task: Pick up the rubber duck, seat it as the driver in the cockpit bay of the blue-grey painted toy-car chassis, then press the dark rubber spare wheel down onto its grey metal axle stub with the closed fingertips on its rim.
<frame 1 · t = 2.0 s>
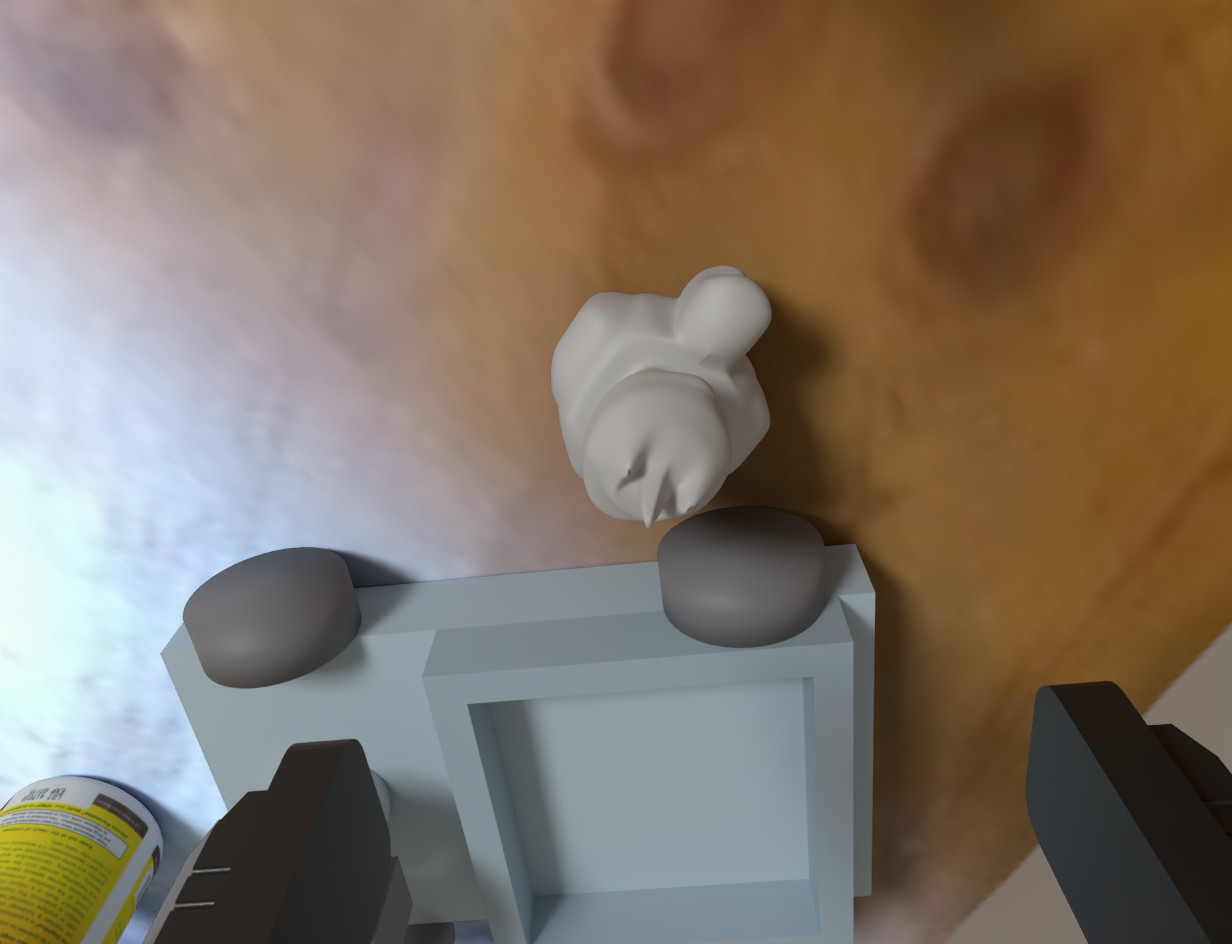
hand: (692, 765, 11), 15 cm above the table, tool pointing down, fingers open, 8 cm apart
supplement bottle: (95, 820, 33), on the table
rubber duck: (663, 348, 24), on the table
chassis: (548, 725, 30), on the table
spare wheel: (281, 935, 24), point 7 cm above the table, slide at 0.0 cm
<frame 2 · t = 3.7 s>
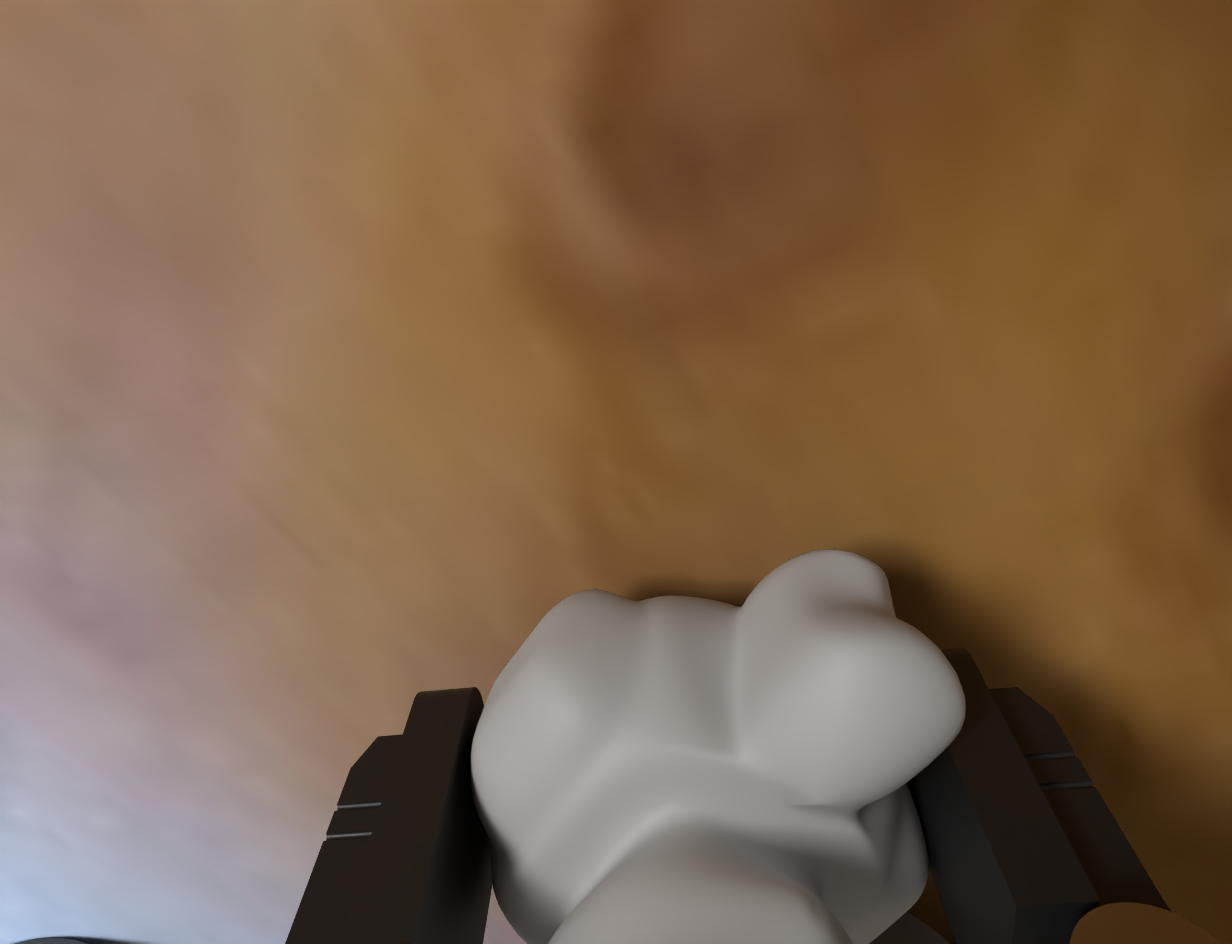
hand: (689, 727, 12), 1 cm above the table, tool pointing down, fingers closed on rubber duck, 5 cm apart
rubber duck: (699, 646, 13), on the table, touching gripper
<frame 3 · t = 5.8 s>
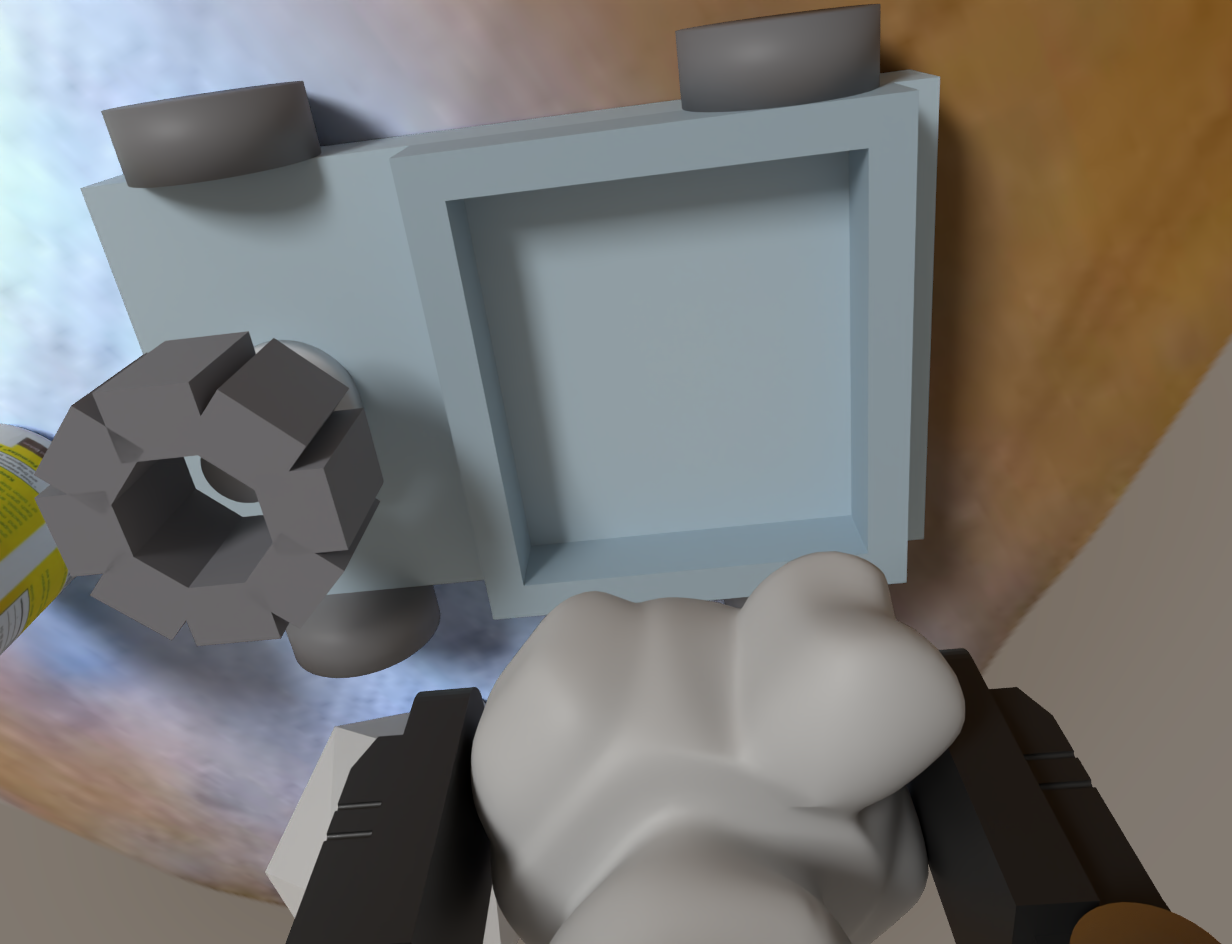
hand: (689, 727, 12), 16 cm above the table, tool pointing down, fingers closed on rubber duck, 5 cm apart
die: (449, 751, 33), on the table
supplement bottle: (27, 494, 29), on the table
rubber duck: (698, 648, 13), point 14 cm above the table, touching gripper
chassis: (546, 346, 26), on the table
spare wheel: (222, 489, 20), point 7 cm above the table, slide at 0.0 cm
when the fingers open (5 cm above the table, at t = 8.2 s): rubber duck drops 1 cm, resting on chassis.
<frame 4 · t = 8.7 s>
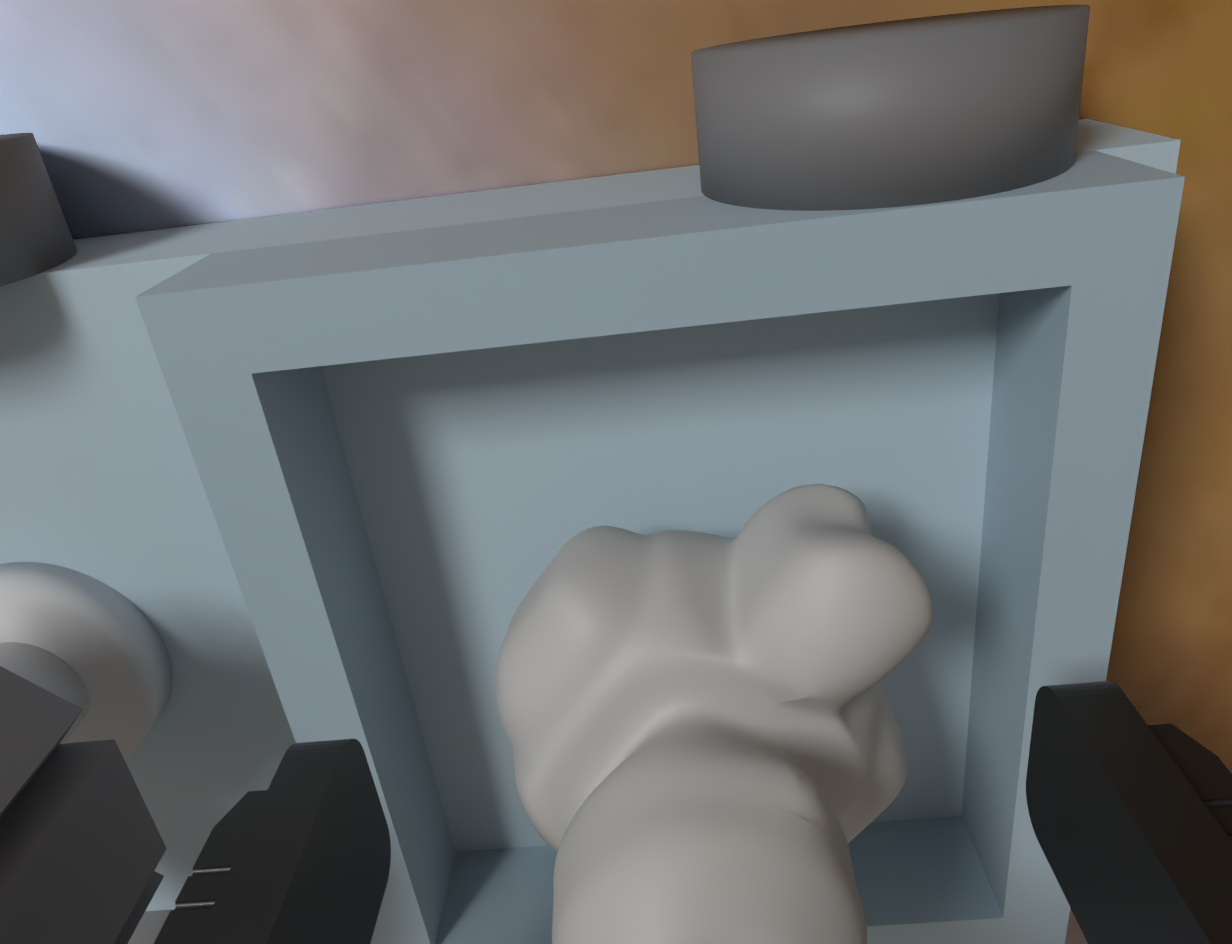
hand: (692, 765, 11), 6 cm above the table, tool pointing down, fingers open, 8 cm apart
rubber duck: (699, 586, 14), point 2 cm above the table, touching chassis
chassis: (479, 539, 16), on the table
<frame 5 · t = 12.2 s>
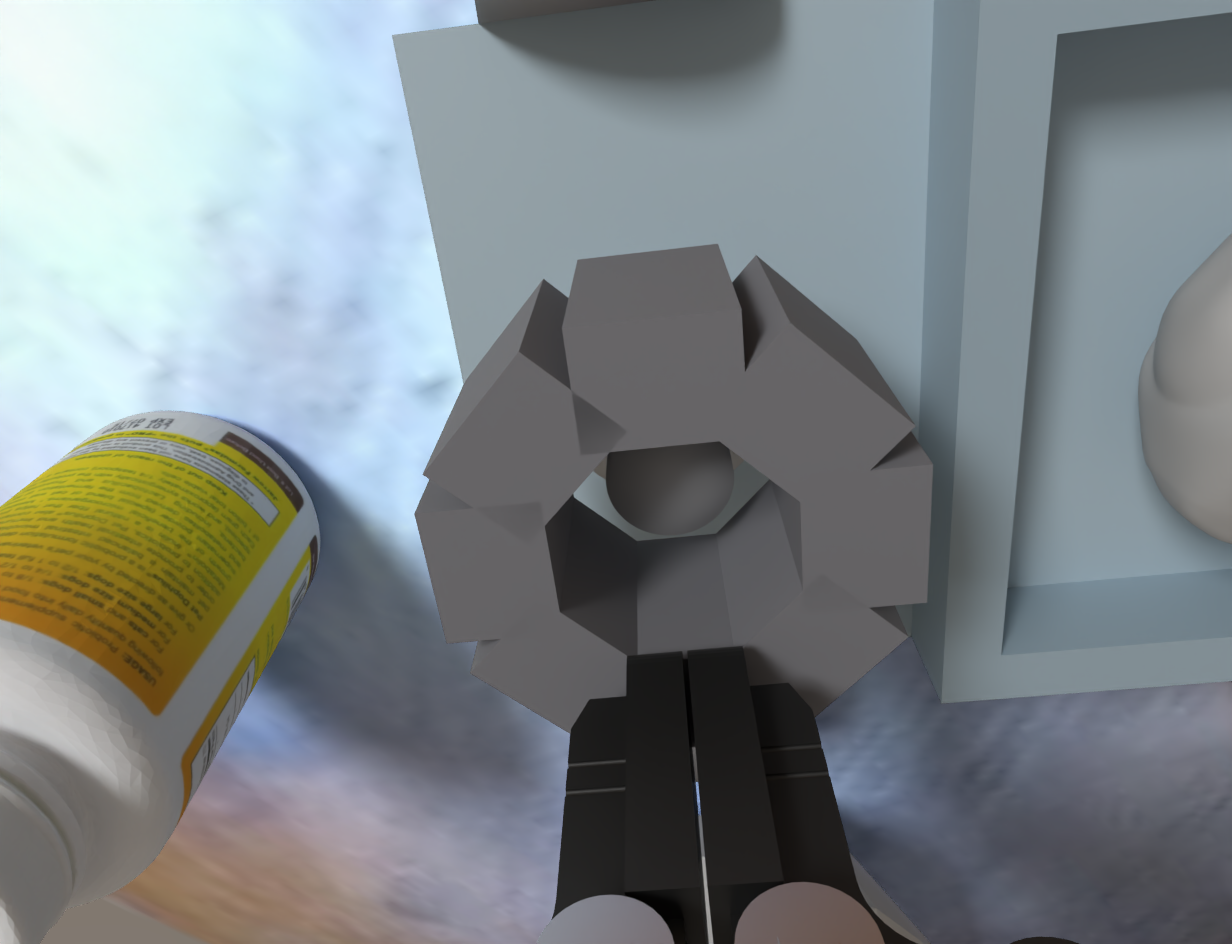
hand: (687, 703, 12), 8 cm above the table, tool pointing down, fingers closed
die: (728, 850, 25), on the table
supplement bottle: (208, 511, 21), on the table
chassis: (989, 303, 18), on the table
spare wheel: (671, 499, 12), point 7 cm above the table, slide at 0.4 cm, touching gripper
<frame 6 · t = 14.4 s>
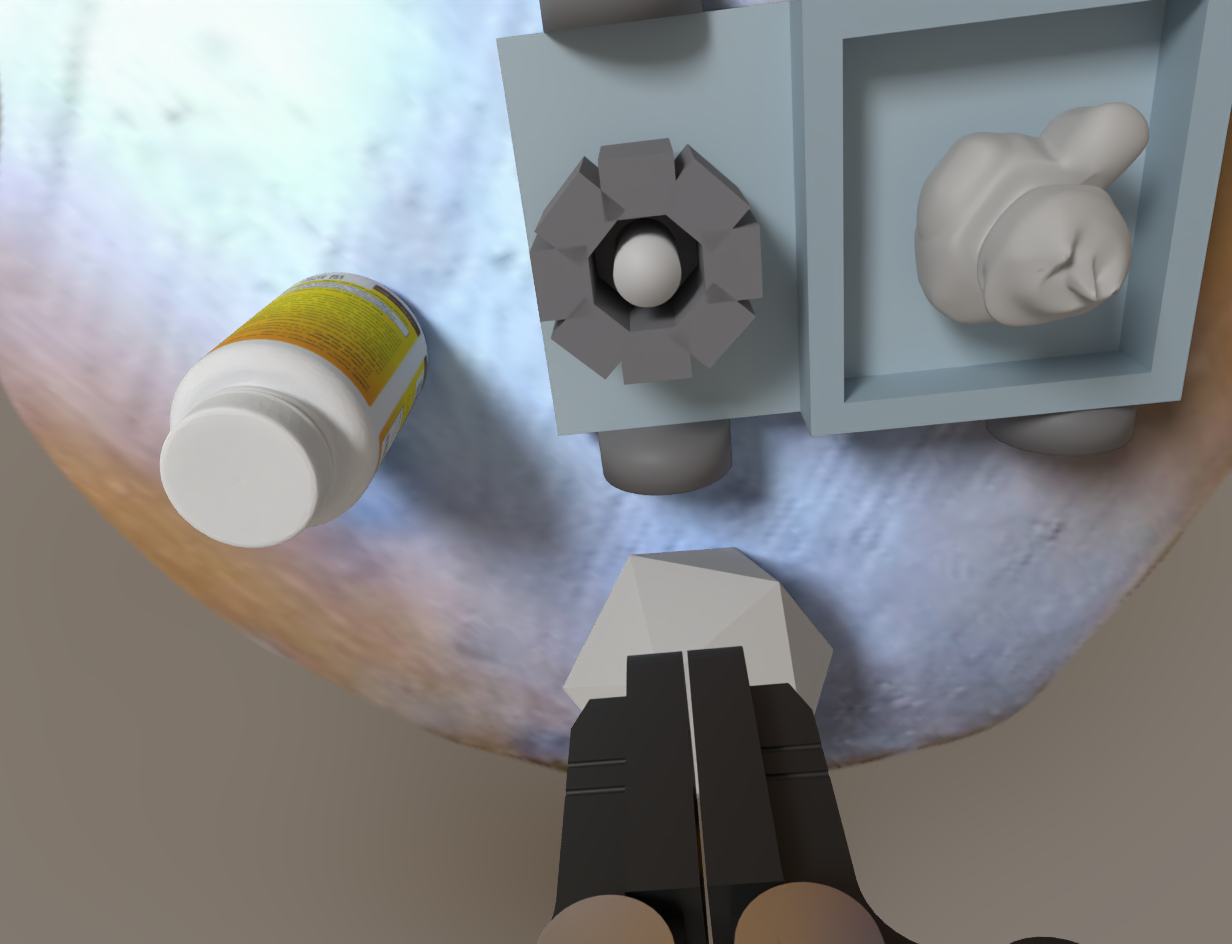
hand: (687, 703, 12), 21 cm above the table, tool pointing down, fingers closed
die: (693, 601, 36), on the table
supplement bottle: (353, 345, 32), on the table
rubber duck: (992, 198, 27), point 2 cm above the table, touching chassis
chassis: (845, 203, 29), on the table
spare wheel: (646, 261, 25), point 5 cm above the table, slide at 2.4 cm, touching chassis
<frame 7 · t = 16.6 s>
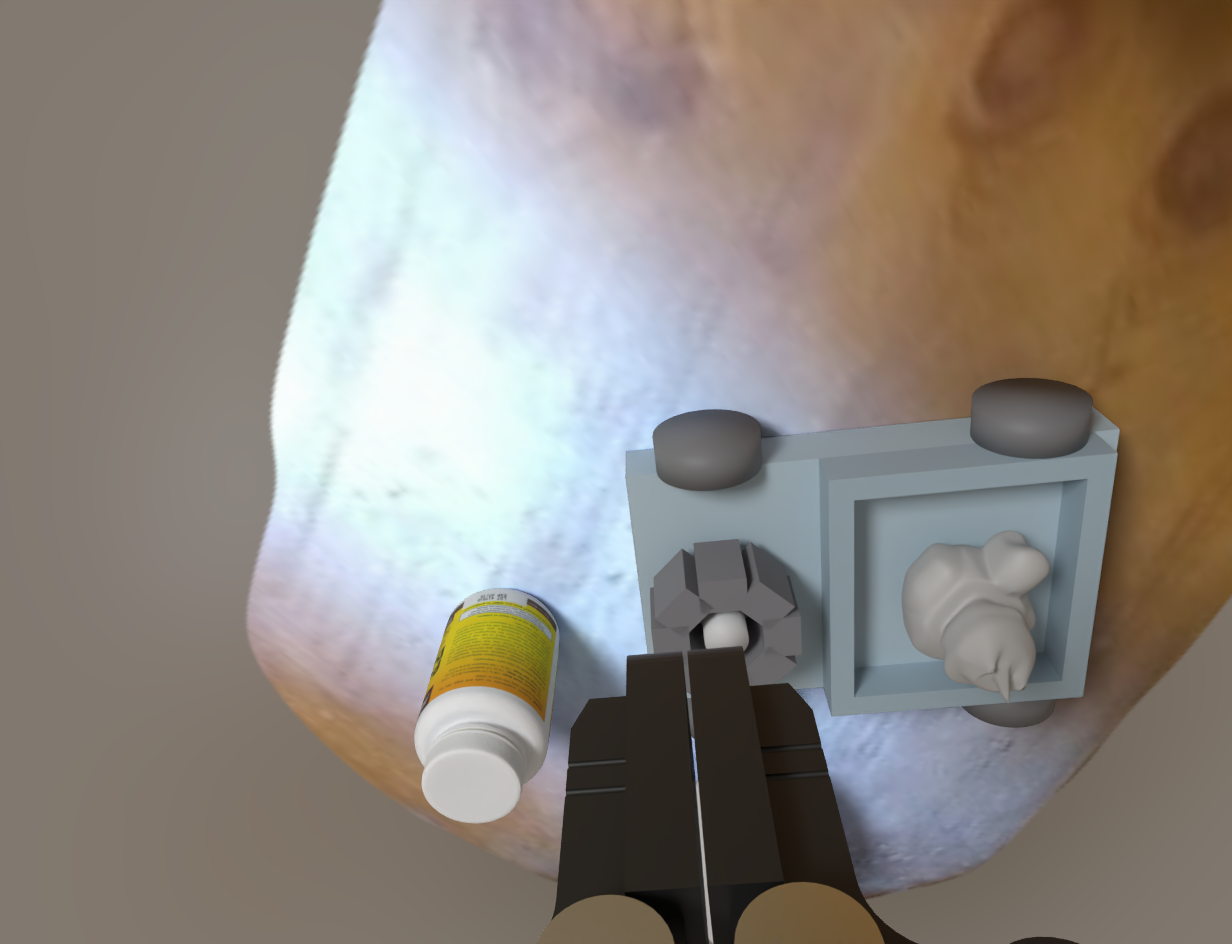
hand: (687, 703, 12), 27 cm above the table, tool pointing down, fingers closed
die: (742, 789, 49), on the table
supplement bottle: (505, 627, 45), on the table
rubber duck: (954, 563, 40), point 2 cm above the table, touching chassis
chassis: (854, 546, 42), on the table
spare wheel: (723, 620, 38), point 5 cm above the table, slide at 2.4 cm, touching chassis
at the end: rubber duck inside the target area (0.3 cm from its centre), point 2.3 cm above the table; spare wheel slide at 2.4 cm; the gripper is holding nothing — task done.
